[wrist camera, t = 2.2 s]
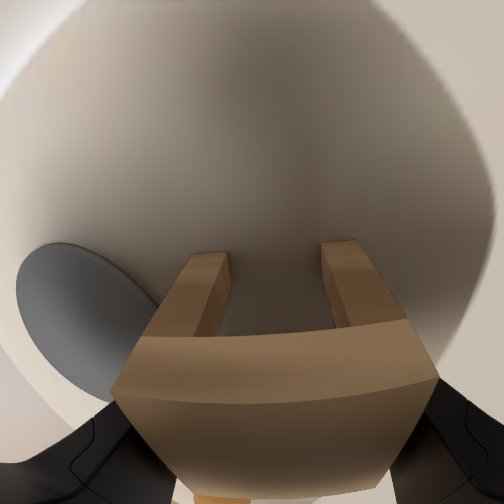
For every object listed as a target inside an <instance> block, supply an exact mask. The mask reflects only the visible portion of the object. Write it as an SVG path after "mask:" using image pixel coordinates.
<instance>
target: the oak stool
mask: <svg viewBox="0 0 504 504" xmlns="http://www.w3.org/2000/svg"><path fill="white" fill-rule="evenodd" d="M320 246H321V276H322V279H323V283H324V286H325V290H326V293H327V297H328V300H329V304H330V307H331V311H332V315H333V318H334V322H335V326H336V329H328V330H319V331H308V332H297V333H284V334H269V335H251V336H226V337H218V334H219V330H220V326H221V323H222V319H223V316H224V312H225V308H226V305H227V301H228V298H229V294H230V290H231V287H232V277H231V272H230V266H229V260H228V255H227V251H224V252H213V253H202V254H192V256H191V257H190V259H189V260H188V262H187V263H186V265H185V266H184V268H183V270H182V271H181V273H180V274H179V276H178V277H177V279H176V280H175V282H174V284H173V285H172V287H171V288H170V290H169V291H168V293H167V295H166V296H165V298H164V299H163V301H162V303H161V304H160V306H159V308H158V309H157V311H156V312H155V314H154V316H153V317H152V319H151V321H150V322H149V324H148V325H147V327H146V329H145V330H144V332H143V334H142V335H141V337H140V339H139V341H138V342H137V344H136V346H135V347H134V349H133V351H132V352H131V354H130V356H129V358H128V359H127V361H126V363H125V365H124V366H123V368H122V370H121V372H120V373H119V375H118V377H117V379H116V380H115V382H114V384H113V386H112V388H111V389H110V391H109V392H110V394H111V395H112V397H113V398H114V400H115V401H116V403H117V404H118V406H119V407H120V408H121V410H122V411H123V413H124V414H125V415H126V417H127V418H128V420H129V421H130V422H131V424H132V425H133V426H134V428H135V429H136V430H137V431H138V433H139V434H140V435H141V436H142V438H143V439H144V440H145V441H146V443H147V444H148V445H149V446H150V448H151V449H152V450H153V451H154V452H155V453H156V455H157V456H158V457H159V458H160V459H161V460H162V461H163V463H164V464H165V465H166V466H167V467H168V468H169V469H170V470H171V471H172V472H173V473H174V474H175V475H176V477H177V478H178V479H179V480H180V481H181V482H182V483H183V484H184V485H185V486H186V487H187V488H188V489H189V490H190V491H192V492H193V493H194V494H198V495H205V496H214V497H224V498H238V499H298V498H311V497H322V496H329V495H337V494H344V493H351V492H356V491H362V490H367V489H371V488H375V487H376V486H377V484H378V483H379V482H380V480H381V479H382V477H383V476H384V475H385V473H386V472H387V471H388V469H389V468H390V466H391V465H392V463H393V462H394V460H395V459H396V457H397V456H398V454H399V453H400V451H401V450H402V448H403V446H404V445H405V443H406V442H407V440H408V438H409V436H410V435H411V433H412V431H413V430H414V428H415V426H416V424H417V422H418V421H419V419H420V417H421V415H422V413H423V411H424V409H425V407H426V405H427V403H428V401H429V399H430V397H431V395H432V393H433V391H434V389H435V386H436V384H437V382H438V380H439V377H440V376H439V374H438V372H437V370H436V368H435V366H434V364H433V362H432V360H431V359H430V357H429V355H428V353H427V351H426V349H425V348H424V346H423V344H422V342H421V340H420V339H419V337H418V335H417V333H416V332H415V330H414V328H413V327H412V325H411V323H410V322H409V320H408V318H407V317H406V315H405V313H404V312H403V310H402V308H401V307H400V305H399V303H398V302H397V300H396V299H395V297H394V295H393V294H392V292H391V291H390V289H389V288H388V286H387V285H386V283H385V281H384V280H383V278H382V277H381V275H380V274H379V272H378V271H377V269H376V268H375V266H374V265H373V264H372V262H371V261H370V259H369V258H368V256H367V255H366V253H365V252H364V250H363V249H362V248H361V246H360V245H359V243H358V242H357V241H356V240H347V241H336V242H324V243H320Z"/></svg>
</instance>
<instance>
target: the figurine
mask: <svg viewBox="0 0 504 504" xmlns="http://www.w3.org/2000/svg"><path fill="white" fill-rule="evenodd" d="M194 502H195V504H250V502H251V499H238V498H224V497H214V496H205V495H198V494H194Z"/></svg>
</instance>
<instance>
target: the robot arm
mask: <svg viewBox="0 0 504 504" xmlns="http://www.w3.org/2000/svg"><path fill="white" fill-rule="evenodd" d="M389 469H390V473H391V477H392V482H393V487H394V491H395V496H396V502H397V504H504V425H503V424H501V423H500V422H498V421H497V420H495V419H494V418H492V417H491V416H489V415H488V414H486V413H485V412H484V411H483V410H481V409H480V408H478V407H477V406H476V405H475V404H473V403H472V402H471V401H469V400H467V399H466V398H465V397H464V396H463V395H461V394H460V393H459V392H458V391H456V390H455V389H454V388H453V387H451V386H450V385H448V384H447V383H446V382H445V381H444V380H442V379H441V378H440V377H439V380H438V382H437V384H436V386H435V389H434V391H433V393H432V395H431V397H430V399H429V401H428V403H427V405H426V407H425V409H424V411H423V413H422V415H421V417H420V419H419V421H418V422H417V424H416V426H415V428H414V430H413V431H412V433H411V435H410V436H409V438H408V440H407V442H406V443H405V445H404V446H403V448H402V450H401V451H400V453H399V454H398V456H397V457H396V459H395V460H394V462H393V463H392V465H391V466H390V468H389ZM176 479H177V477H176V475H175V474H174V473H173V472H172V471H171V470H170V469H169V468H168V467H167V466H166V465H165V464H164V463H163V461H162V460H161V459H160V458H159V457H158V456H157V455H156V453H155V452H154V451H153V450H152V449H151V448H150V446H149V445H148V444H147V443H146V441H145V440H144V439H143V438H142V436H141V435H140V434H139V433H138V431H137V430H136V429H135V428H134V426H133V425H132V424H131V422H130V421H129V420H128V418H127V417H126V415H125V414H124V413H123V411H122V410H121V408H120V407H119V406H118V404H117V403H116V401H115V400H113V401H112V402H111V403H110V404H108V405H107V406H106V407H105V408H103V409H102V410H101V411H100V412H98V413H97V414H96V415H95V416H94V418H93V417H92V418H91V419H90V420H88V421H87V422H86V423H84V424H83V425H82V426H80V427H79V428H78V429H76V430H75V431H74V432H72V433H71V434H69V435H68V436H66V437H65V438H63V439H62V440H60V441H59V442H57V443H55V444H54V445H52V446H51V447H49V448H47V449H46V450H44V451H42V452H41V453H39V454H38V455H36V456H34V457H32V458H30V459H28V460H26V461H23V462H19V463H0V504H171V500H172V496H173V492H174V488H175V483H176Z"/></svg>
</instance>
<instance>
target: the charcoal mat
mask: <svg viewBox="0 0 504 504" xmlns="http://www.w3.org/2000/svg"><path fill="white" fill-rule="evenodd" d="M16 296H17V302H18V307H19V311H20V314H21V317H22V320H23V322H24V325H25V327H26V329H27V331H28V333H29V335H30V337H31V338H32V340H33V342H34V343H35V345H36V346H37V348H38V349H39V351H40V352H41V353H42V354H43V356H44V357H45V358H46V359H47V361H48V362H49V363H50V364H51V365H52V366H53V367H54V368H55V369H56V370H57V371H58V372H59V373H60V374H61V375H63V376H64V377H65V378H66V379H67V380H69V381H70V382H71V383H73V384H74V385H76V386H77V387H78V388H80V389H82V390H83V391H85V392H87V393H89V394H90V395H92V396H94V397H96V398H99V399H101V400H104V401H106V402H109V403H111V402H112V401H113V400H114V398H113V397H112V395H111V394H110V392H109V391H110V389H111V388H112V386H113V384H114V382H115V380H116V379H117V377H118V375H119V373H120V372H121V370H122V368H123V366H124V365H125V363H126V361H127V359H128V358H129V356H130V354H131V352H132V351H133V349H134V347H135V346H136V344H137V342H138V341H139V339H140V337H141V335H142V334H143V332H144V330H145V329H146V327H147V325H148V324H149V322H150V321H151V319H152V317H153V316H154V314H155V312H156V311H157V309H158V308H157V306H156V305H155V304H154V302H153V301H152V300H151V299H150V298H149V296H148V295H147V294H146V293H145V292H144V291H143V290H142V289H141V288H140V287H139V286H138V285H137V284H136V283H135V282H134V281H133V280H132V279H131V278H130V277H129V276H127V275H126V274H125V273H124V272H123V271H122V270H120V269H119V268H118V267H116V266H115V265H113V264H112V263H111V262H109V261H108V260H106V259H104V258H102V257H101V256H99V255H97V254H95V253H93V252H91V251H89V250H86V249H84V248H81V247H78V246H74V245H70V244H62V243H58V244H49V245H46V246H43V247H41V248H39V249H37V250H36V251H34V252H33V253H31V254H30V255H29V256H28V257H27V258H26V259H25V260H24V261H23V263H22V264H21V266H20V269H19V272H18V275H17V280H16Z"/></svg>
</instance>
